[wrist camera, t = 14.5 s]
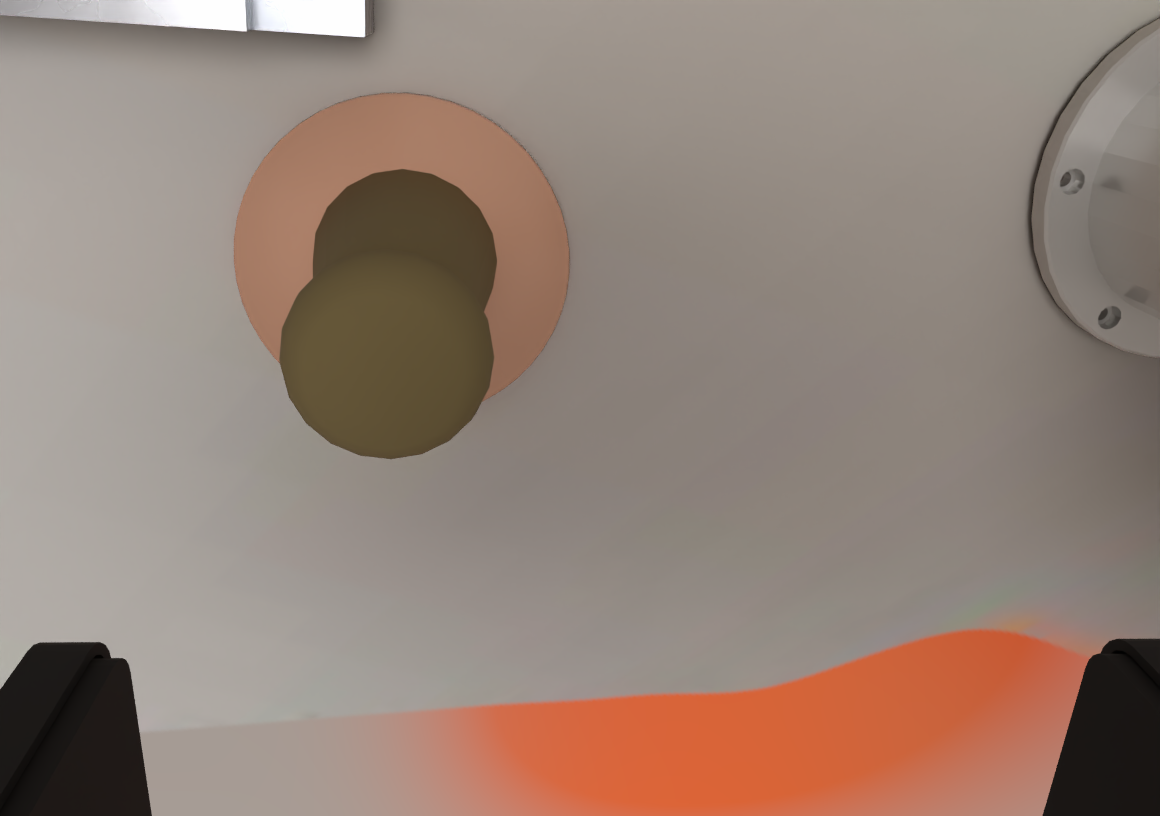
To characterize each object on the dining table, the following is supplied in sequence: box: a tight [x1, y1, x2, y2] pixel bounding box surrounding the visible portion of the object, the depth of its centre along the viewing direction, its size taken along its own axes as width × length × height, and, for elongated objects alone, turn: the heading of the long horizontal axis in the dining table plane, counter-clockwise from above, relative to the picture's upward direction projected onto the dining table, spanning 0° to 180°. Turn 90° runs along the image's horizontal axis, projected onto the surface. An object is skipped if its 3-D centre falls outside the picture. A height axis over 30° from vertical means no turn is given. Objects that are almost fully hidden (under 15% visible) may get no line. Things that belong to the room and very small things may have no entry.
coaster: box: [234, 93, 569, 401], centre depth 34 cm, size 11×11×1 cm
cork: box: [279, 169, 497, 459], centre depth 29 cm, size 6×6×11 cm
